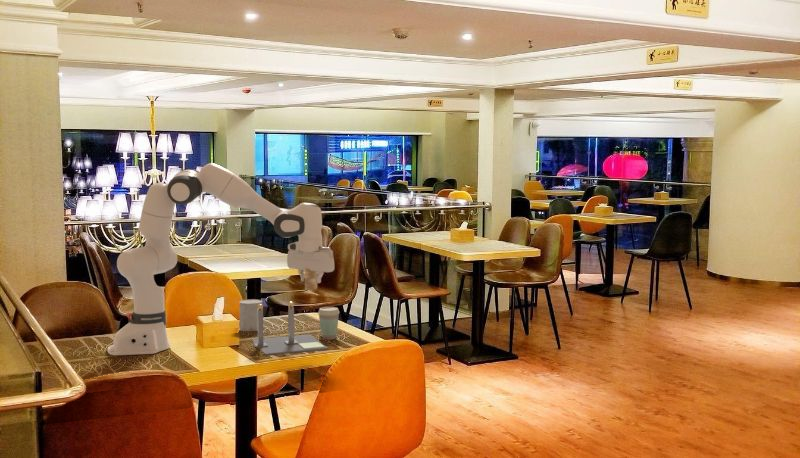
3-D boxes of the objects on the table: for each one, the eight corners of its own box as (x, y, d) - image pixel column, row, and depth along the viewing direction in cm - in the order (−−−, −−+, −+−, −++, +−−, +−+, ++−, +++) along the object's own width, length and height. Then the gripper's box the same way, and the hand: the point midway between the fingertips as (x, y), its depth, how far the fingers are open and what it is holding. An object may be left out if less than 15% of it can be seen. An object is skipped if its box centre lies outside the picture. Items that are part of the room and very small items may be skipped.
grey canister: (235, 332, 342) (235, 302, 341) (246, 327, 351) (245, 298, 350) (256, 333, 340) (256, 304, 338) (266, 328, 349) (266, 299, 347)
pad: (304, 349, 311) (304, 348, 311) (298, 344, 318) (298, 343, 318) (324, 347, 314) (324, 346, 314) (318, 342, 321) (318, 341, 321)
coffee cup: (341, 336, 336) (341, 306, 335) (337, 341, 328) (337, 311, 326) (320, 335, 337) (320, 306, 336) (316, 340, 328) (316, 310, 327)
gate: (256, 347, 313) (255, 305, 311) (253, 345, 317) (253, 303, 315) (298, 344, 319) (298, 302, 317) (295, 341, 323) (295, 300, 321)
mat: (265, 355, 304) (265, 353, 304) (251, 341, 326) (251, 339, 326) (327, 349, 313) (327, 347, 313) (310, 336, 335) (310, 334, 335)
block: (304, 289, 312) (304, 268, 311) (306, 288, 316) (306, 267, 315) (315, 290, 312) (315, 268, 311) (317, 288, 316) (316, 267, 315)
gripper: (337, 246, 309) (338, 283, 311) (295, 243, 320) (295, 278, 321) (327, 248, 304) (327, 285, 305) (284, 244, 315) (284, 280, 316)
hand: (310, 282), depth 313 cm, fingers closed on block, 5 cm apart
